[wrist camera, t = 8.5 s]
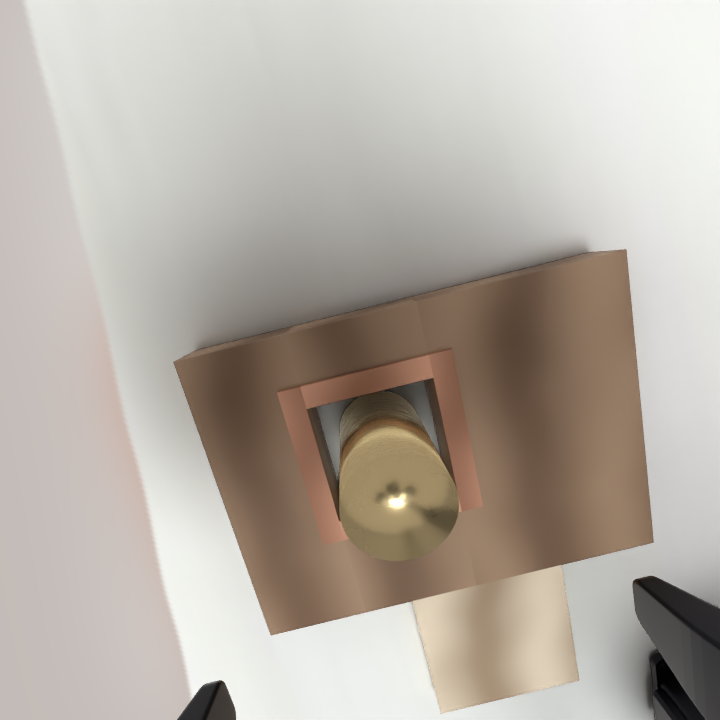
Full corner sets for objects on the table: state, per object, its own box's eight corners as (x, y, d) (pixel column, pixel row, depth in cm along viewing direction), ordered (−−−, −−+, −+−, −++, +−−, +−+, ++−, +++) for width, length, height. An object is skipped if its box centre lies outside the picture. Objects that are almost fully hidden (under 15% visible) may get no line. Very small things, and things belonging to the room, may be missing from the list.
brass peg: (410, 382, 20) (447, 440, 13) (426, 455, 21) (468, 546, 14) (331, 401, 20) (326, 469, 13) (350, 473, 21) (355, 573, 14)
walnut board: (589, 252, 19) (629, 249, 16) (633, 644, 24) (670, 690, 21) (195, 350, 19) (171, 363, 16) (321, 719, 24) (318, 774, 21)
